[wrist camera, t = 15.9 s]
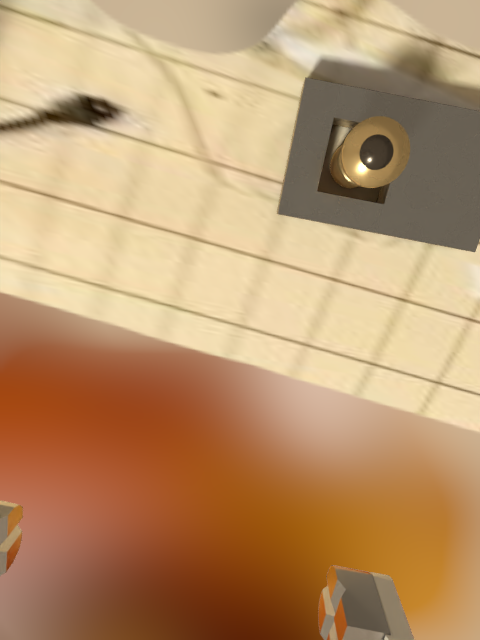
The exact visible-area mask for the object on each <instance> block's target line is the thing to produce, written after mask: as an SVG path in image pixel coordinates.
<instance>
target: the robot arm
mask: <svg viewBox="0 0 480 640" xmlns="http://www.w3.org/2000/svg"><path fill="white" fill-rule="evenodd" d="M22 518H23V507H22V506H21V505H18V504H14V503H9V502H5V501H0V576H1V575H2V574H4V573H6V572H7V570H8V569H9V567H10V566H11V564H12V563H13V561H14V559H15V557H16V555H17V553H18V551H19V548H20V544H21V539H22V531H21V529H20V528H19V526H18V525H17V524H18V523H19V522H20V520H21V519H22ZM327 582H328V586H327V587H326V588H324V589H323V590H322V593H321V597H320V600H319V610H318V620H319V629H320V634H321V635H322V637H323V638H324V640H414V637H413V635H412V632H411V629H410V626H409V624H408V621H407V618H406V615H405V613H404V610H403V607H402V604H401V602H400V599H399V596H398V594H397V591H396V588H395V586H394V583H393V580H392V578H391V577H390V576H389V575H383V574H377V573H372V572H366V571H361V570H356V569H350V568H344V567H339V566H333V565H331V567H330V568H329V570H328V573H327Z"/></svg>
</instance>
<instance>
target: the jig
mask: <svg viewBox="0 0 480 640" xmlns="http://www.w3.org/2000/svg"><path fill="white" fill-rule="evenodd" d="M375 116H384V117H389V118H391V119H394V120H395V121H397V122H398V123H399V124H401V125H402V127H403V128H404V129H405V131H406V133H407V135H408V137H409V141H410V156H409V160H408V163H407V165H406V167H405V169H404V170H403V172H402V173H401V174H400V175H399V176H398V177H397V178H396V179H395V180H394V181H392V182H391V183H389V184H387V185H384V186H381V189H380V193H379V196H378V200H377V203H374V202H369V201H364V200H359V199H354V198H349V197H344V196H338V195H333V194H328V193H323V192H318V191H317V190H318V185H319V181H320V176H321V172H322V168H323V163H324V159H325V154H326V150H327V146H328V141H329V137H330V133H331V128H332V125H337V126H343V127H348V128H354V127H355V126H356V125H357V124H359V123H360V122H362V121H363V120H365V119H368V118H371V117H375ZM277 214H281V215H286V216H291V217H296V218H301V219H306V220H311V221H317V222H322V223H327V224H332V225H337V226H342V227H347V228H353V229H358V230H363V231H368V232H373V233H378V234H383V235H389V236H394V237H399V238H404V239H409V240H414V241H419V242H425V243H430V244H435V245H440V246H445V247H450V248H455V249H461V250H466V251H471V252H475V251H476V248H477V245H478V242H479V239H480V111H475V110H470V109H465V108H460V107H455V106H450V105H445V104H439V103H434V102H429V101H424V100H419V99H414V98H409V97H403V96H398V95H393V94H388V93H383V92H378V91H372V90H367V89H362V88H357V87H352V86H347V85H342V84H336V83H331V82H326V81H321V80H316V79H311V78H305V81H304V84H303V87H302V92H301V97H300V102H299V107H298V111H297V116H296V121H295V126H294V131H293V136H292V141H291V146H290V151H289V155H288V160H287V165H286V170H285V175H284V180H283V185H282V190H281V194H280V199H279V204H278V209H277Z"/></svg>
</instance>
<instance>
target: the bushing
mask: <svg viewBox="0 0 480 640" xmlns="http://www.w3.org/2000/svg"><path fill="white" fill-rule="evenodd" d="M409 156H410V141H409V137H408V135H407V133H406V131H405V129H404V128H403V127H402V125H401V124H399V123H398V122H397V121H395V120H394V119H391V118H389V117H384V116H375V117H371V118H368V119H365V120H363V121H362V122H360V123H359V124H357V125H356V126H355V127H354V128H353V129H352V130H351V131H350V132H349V134H348V135H347V137H346V138H345V140H344V142H343V144H342V145H341V146H340V147H339V148H338V149H337V150H336V151H335V152H334V154H333V156H332V158H331V162H330V172H331V175H332V177H333V179H334V180H335V182H336V183H338V184H339V185H340V186H342V187H345V188H355V187H359V186H361V187H365V188H376V187H381V186H384V185H387V184H389V183H391V182H392V181H394V180H395V179H396V178H397V177H398V176H399V175H400V174H401V173H402V172H403V170H404V169H405V167H406V165H407V163H408V160H409Z"/></svg>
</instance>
